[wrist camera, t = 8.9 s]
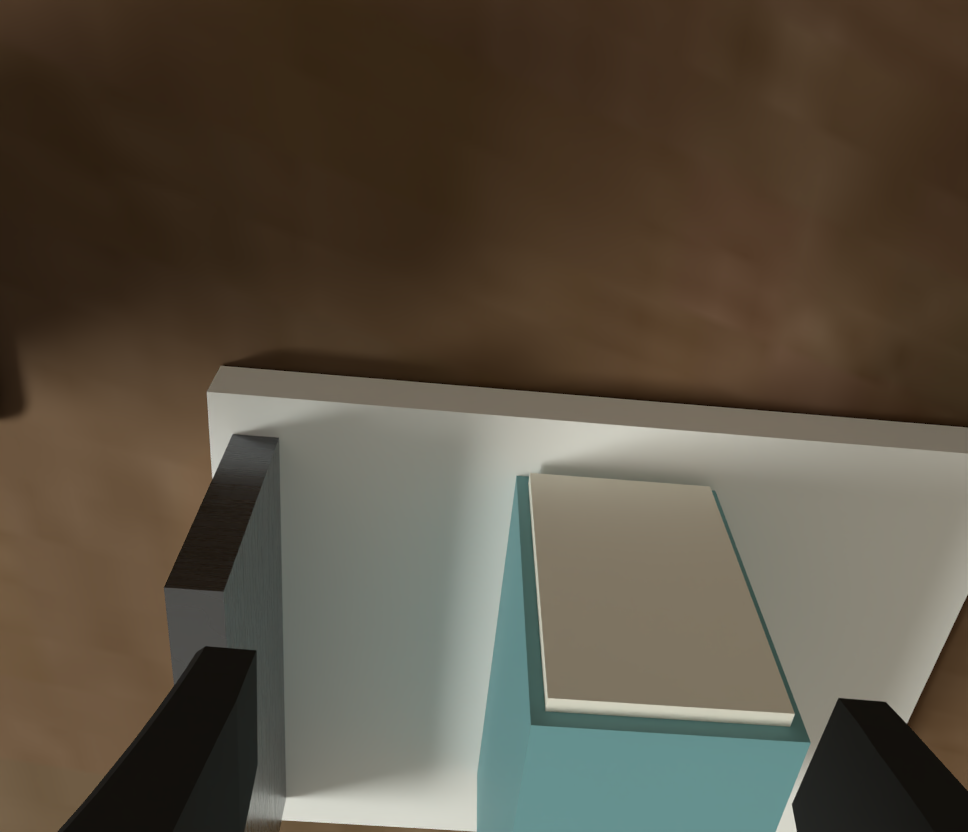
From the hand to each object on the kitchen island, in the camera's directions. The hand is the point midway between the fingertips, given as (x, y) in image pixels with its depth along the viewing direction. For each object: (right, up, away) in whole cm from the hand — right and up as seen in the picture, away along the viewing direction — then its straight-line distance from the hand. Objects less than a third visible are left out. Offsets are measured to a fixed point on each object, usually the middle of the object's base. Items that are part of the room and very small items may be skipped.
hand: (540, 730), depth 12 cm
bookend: (-6, -2, +11) cm, 13 cm away
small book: (+2, -2, +12) cm, 12 cm away
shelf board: (+2, -2, +13) cm, 13 cm away
